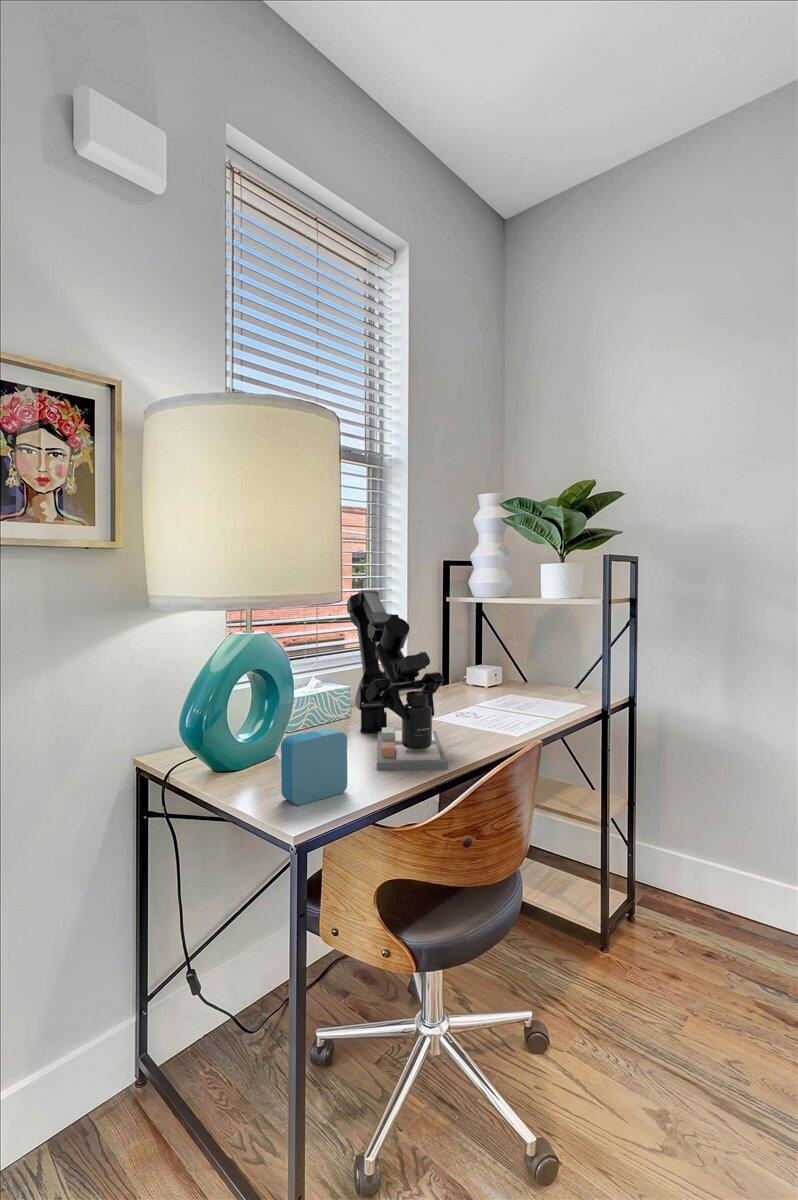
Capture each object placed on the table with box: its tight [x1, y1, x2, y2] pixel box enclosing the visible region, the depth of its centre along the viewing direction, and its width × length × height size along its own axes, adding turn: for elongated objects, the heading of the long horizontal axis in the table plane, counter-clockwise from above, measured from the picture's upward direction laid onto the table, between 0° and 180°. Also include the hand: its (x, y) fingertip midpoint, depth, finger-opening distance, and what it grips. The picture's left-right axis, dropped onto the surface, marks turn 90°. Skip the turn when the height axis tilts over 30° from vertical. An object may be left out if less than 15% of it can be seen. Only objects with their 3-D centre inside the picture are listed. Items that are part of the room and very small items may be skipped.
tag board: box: [376, 727, 448, 771], centre depth 143 cm, size 15×26×4 cm, turn 1°
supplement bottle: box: [401, 690, 433, 749], centre depth 136 cm, size 7×7×12 cm
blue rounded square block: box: [280, 727, 348, 806], centre depth 114 cm, size 12×4×12 cm, turn 130°
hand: (420, 717), depth 135 cm, fingers closed on supplement bottle, 7 cm apart
